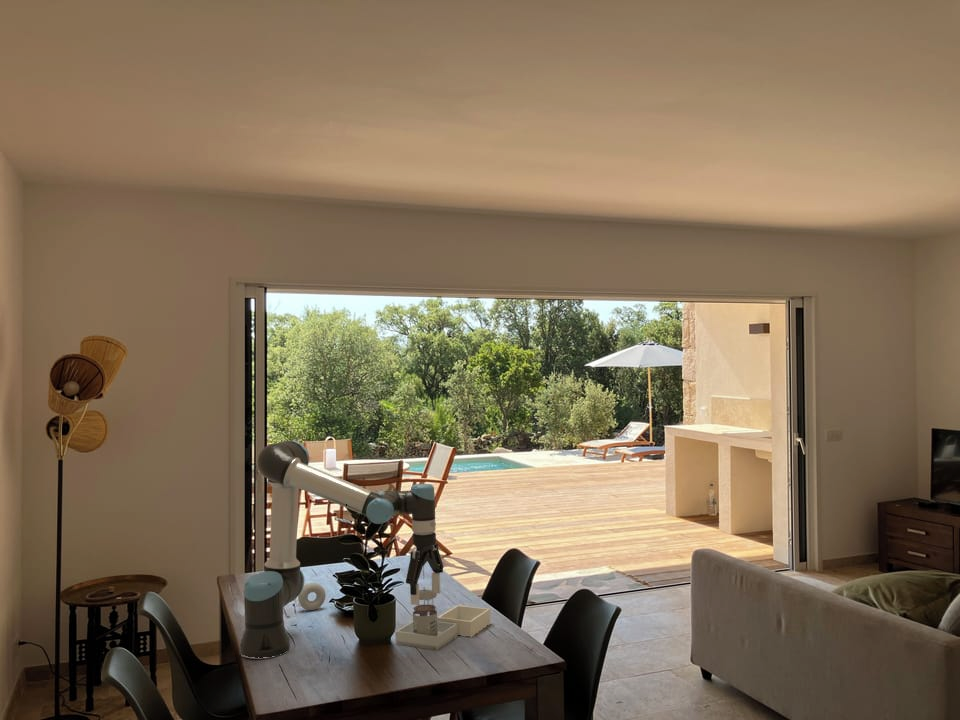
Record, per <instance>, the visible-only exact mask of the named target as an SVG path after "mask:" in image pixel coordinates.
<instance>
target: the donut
mask: <svg viewBox="0 0 960 720" xmlns="http://www.w3.org/2000/svg"><path fill="white" fill-rule="evenodd" d="M311 593H314V594H315V596H316V597H315V599H313V600H309V599H308V597H309V595H310V594H311ZM297 599H298V603H299V605H300V607H302V609H304V610H306V611H309V610H313V611H316V610H318V609H319V608H321V606H322V605H324V603H325V601H326V591H325V588H324V587H323V586H322V585H321V584H319V583H316V582H310V583H307V584H306V585H305V584H304V587H303V589H302V591H301V593H300V594H299V595H298V597H297ZM315 609H316V610H315Z"/></svg>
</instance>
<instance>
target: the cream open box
mask: <svg viewBox="0 0 960 720" xmlns="http://www.w3.org/2000/svg"><path fill="white" fill-rule="evenodd" d="M437 621H439V622H447V623H455V624H457V628H458V635H462V636H461V637H465V636H470V637H469V638H473V637H474V636H476V635H477V634H479V633H480V632H481V631H483V630H484V629H485V628H487V627H488V626H489V625H491V624H490V623H491V608H485V607H476V606H467V605H461V604H460V605H459V604H457V605H455V606H453V607H452V608H451V609H449V610H447V611H445V612H444V613H442V614H441V615H439V616H437ZM487 625H488V626H487ZM486 626H487V627H486ZM483 628H484V629H483ZM480 630H481V631H480ZM479 631H480V632H479ZM476 633H477V634H476ZM475 634H476V635H475ZM473 635H474V636H473ZM472 636H473V637H472Z"/></svg>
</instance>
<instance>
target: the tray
mask: <svg viewBox="0 0 960 720" xmlns="http://www.w3.org/2000/svg"><path fill="white" fill-rule="evenodd" d="M413 622H414V621H413V620H412V621H411V622H409V623H407V624H405V625H404V626H402V627H400V628H399V629H396V630H395V634H394V635H395V645H399V644H400V646H408V647H413V648H421V649H426V650H433V651H439V650H440V649H441V648H443V647H444V646H445V645H448V644H449V643H450V642H451V640H452V641H453V640H454V639H456V638H457V637H458V628H457V624H455V623H447V622H439V621H437V627H436V628H437V629H438V636H431V635H424V634H416V633H413V630H414V629H413V626H414V625H413ZM414 624H416V622H415V623H414ZM428 624H429V625H430V623H429V622H428ZM414 628H417V627H416V626H415V627H414ZM428 629H430V627H428ZM455 637H456V638H455Z"/></svg>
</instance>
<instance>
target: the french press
mask: <svg viewBox="0 0 960 720" xmlns="http://www.w3.org/2000/svg"><path fill="white" fill-rule="evenodd" d="M425 564H427V562H426V563H425ZM422 570H423V573H422V575H423V578H425V565H423V567H422ZM437 596H438V593H435V592H433V591H432V589H425V588H422V589H419V601H423V604H419V605H414V607H413V610H414V611H412V621H414V622H413V625H414V626H413V629H414V630H413V633H416V634H424V635H431V636H438V629H437V628H436V627H437V617H438V611H437V610H436V608H437V607H436V605H434V600H433V599H436V597H437ZM426 601H427V602H430V601H432V603H431V604H430V603H427V604H426ZM415 622H416V624H414V623H415ZM428 622H429V623H430V625H429V624H428ZM415 626H416V627H417V628H414V627H415ZM428 627H430V629H428Z"/></svg>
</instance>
